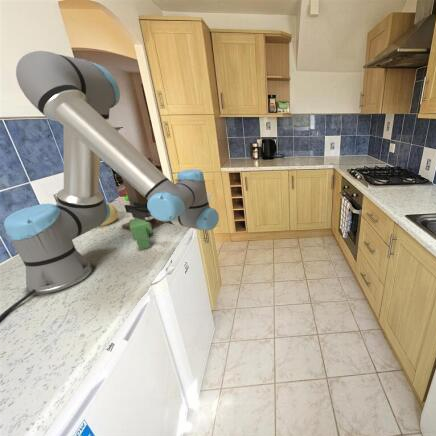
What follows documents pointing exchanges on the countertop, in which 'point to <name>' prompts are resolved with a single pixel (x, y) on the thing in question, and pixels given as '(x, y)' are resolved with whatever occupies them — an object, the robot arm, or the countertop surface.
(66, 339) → the countertop surface
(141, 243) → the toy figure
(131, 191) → the walnut stand
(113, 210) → the sculpture
